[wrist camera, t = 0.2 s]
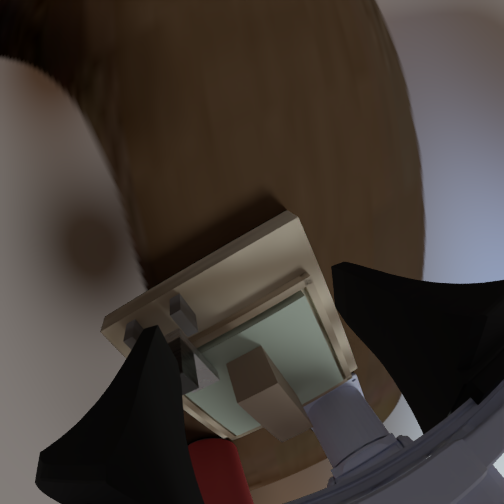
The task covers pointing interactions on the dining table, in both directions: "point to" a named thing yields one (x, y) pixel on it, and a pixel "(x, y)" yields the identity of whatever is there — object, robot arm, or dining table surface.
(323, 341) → the cover
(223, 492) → the beer can
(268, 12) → the dining table surface
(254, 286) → the picture frame
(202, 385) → the latch bolt
